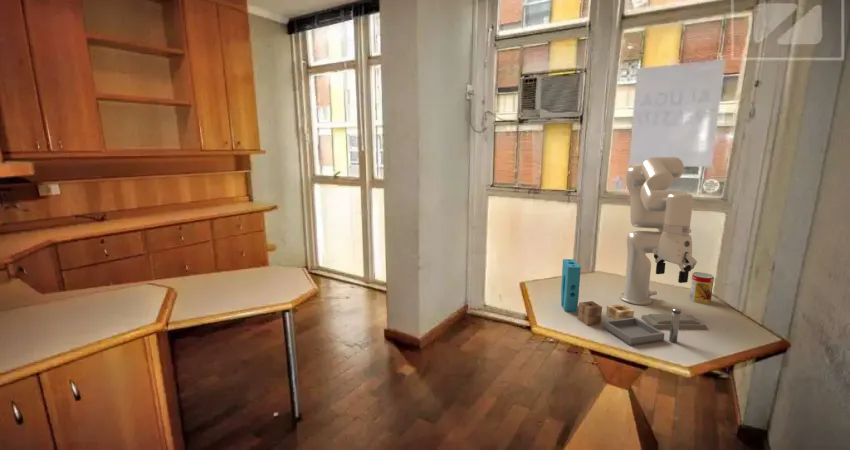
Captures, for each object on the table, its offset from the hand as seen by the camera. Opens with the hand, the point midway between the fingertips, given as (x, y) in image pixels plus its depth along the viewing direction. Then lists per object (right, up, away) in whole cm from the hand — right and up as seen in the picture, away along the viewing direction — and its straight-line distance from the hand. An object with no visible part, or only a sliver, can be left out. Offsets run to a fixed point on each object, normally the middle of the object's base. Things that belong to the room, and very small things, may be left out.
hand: (671, 277), depth 138 cm
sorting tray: (-9, -22, +8) cm, 25 cm away
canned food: (+38, -16, +40) cm, 57 cm away
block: (-24, -17, +33) cm, 44 cm away
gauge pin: (+3, -23, +3) cm, 23 cm away
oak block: (-7, -19, +23) cm, 31 cm away
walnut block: (-20, -20, +20) cm, 35 cm away
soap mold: (+11, -21, +17) cm, 29 cm away
